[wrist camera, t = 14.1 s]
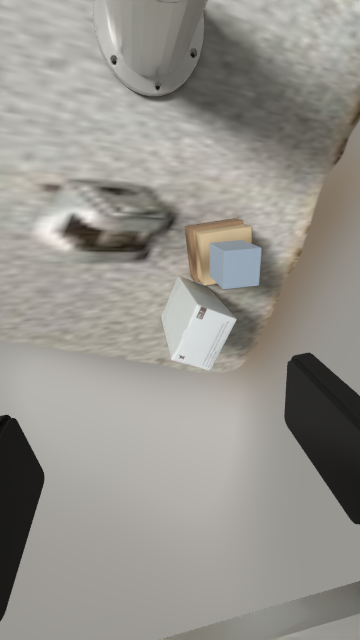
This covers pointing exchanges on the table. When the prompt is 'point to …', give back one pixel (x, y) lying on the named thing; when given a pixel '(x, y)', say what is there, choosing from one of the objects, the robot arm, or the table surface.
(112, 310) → the table surface
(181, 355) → the skincare box
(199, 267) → the oak slab
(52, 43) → the table surface
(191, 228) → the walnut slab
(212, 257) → the blue block
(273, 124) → the table surface
